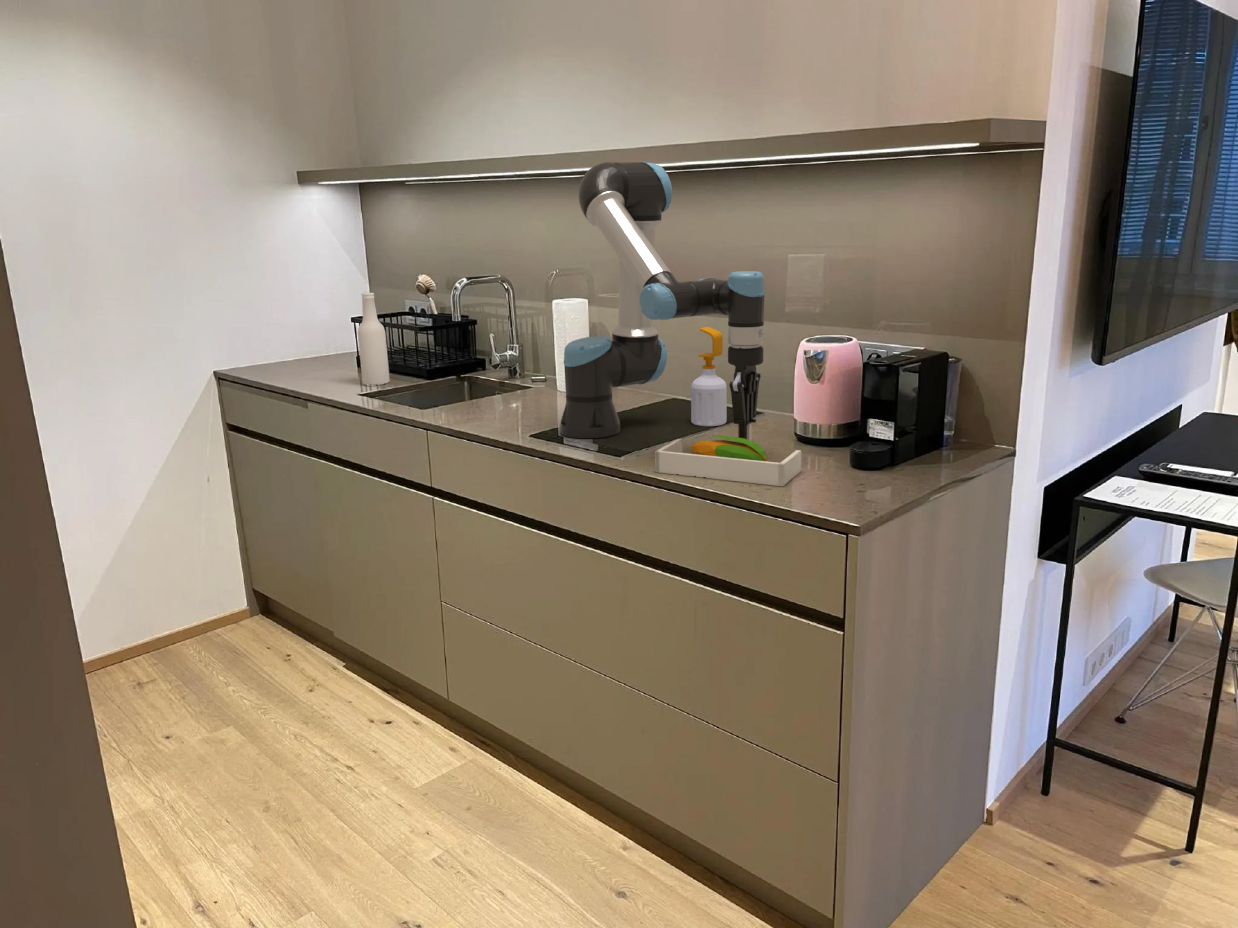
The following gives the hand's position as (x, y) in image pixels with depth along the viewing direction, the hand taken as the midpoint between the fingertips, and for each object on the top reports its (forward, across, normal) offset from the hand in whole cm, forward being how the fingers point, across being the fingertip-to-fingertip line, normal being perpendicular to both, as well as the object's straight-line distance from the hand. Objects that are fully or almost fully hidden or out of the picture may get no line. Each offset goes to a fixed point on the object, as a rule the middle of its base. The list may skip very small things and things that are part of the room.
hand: (744, 452), depth 205 cm
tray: (+2, -11, 0) cm, 11 cm away
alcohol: (+2, +44, +146) cm, 153 cm away
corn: (+2, -10, 0) cm, 10 cm away
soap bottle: (+2, +30, +21) cm, 37 cm away
